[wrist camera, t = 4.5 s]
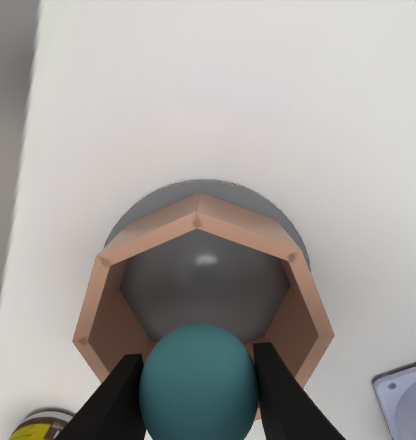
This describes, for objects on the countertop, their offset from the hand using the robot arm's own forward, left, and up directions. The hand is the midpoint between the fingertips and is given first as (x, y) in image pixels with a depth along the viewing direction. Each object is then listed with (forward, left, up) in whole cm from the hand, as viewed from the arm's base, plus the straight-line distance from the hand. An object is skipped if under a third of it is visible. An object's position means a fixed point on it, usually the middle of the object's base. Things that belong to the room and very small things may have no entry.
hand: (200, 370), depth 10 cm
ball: (0, 0, +1) cm, 1 cm away
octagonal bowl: (0, 0, -7) cm, 7 cm away
